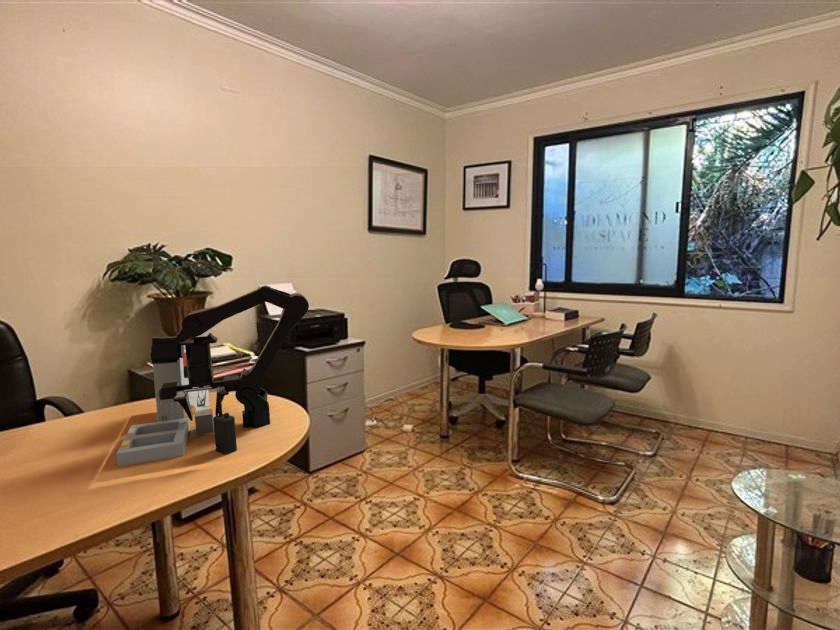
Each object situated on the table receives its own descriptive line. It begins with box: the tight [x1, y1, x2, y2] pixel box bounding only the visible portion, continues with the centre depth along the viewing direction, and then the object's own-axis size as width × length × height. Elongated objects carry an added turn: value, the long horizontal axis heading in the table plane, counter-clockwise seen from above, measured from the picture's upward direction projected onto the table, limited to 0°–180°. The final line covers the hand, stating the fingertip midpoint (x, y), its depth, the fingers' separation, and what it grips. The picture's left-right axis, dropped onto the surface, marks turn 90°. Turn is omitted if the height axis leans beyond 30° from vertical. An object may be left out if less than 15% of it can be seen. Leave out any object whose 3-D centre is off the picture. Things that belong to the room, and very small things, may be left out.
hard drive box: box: [152, 345, 211, 422], centre depth 132 cm, size 16×8×20 cm, turn 179°
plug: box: [194, 406, 214, 434], centre depth 120 cm, size 4×4×5 cm
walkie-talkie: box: [213, 392, 238, 455], centre depth 108 cm, size 5×3×15 cm
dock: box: [116, 418, 190, 467], centre depth 112 cm, size 13×17×4 cm
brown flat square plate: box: [189, 425, 215, 439], centre depth 121 cm, size 7×8×1 cm
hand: (204, 418), depth 120 cm, fingers open, 6 cm apart
